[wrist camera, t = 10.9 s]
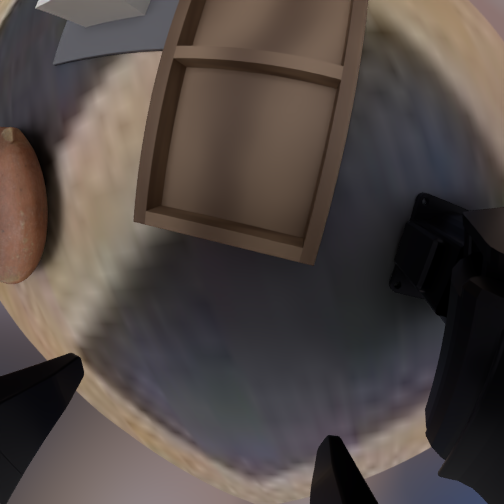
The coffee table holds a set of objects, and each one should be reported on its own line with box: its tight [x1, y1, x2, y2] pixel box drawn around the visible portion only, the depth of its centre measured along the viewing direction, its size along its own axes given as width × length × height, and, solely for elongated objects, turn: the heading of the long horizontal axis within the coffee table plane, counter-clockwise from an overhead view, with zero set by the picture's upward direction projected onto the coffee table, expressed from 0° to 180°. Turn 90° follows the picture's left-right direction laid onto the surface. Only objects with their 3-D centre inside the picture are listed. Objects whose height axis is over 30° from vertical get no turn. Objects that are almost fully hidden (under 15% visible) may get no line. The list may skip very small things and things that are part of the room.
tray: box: [134, 0, 368, 266], centre depth 13 cm, size 11×20×2 cm, turn 169°
